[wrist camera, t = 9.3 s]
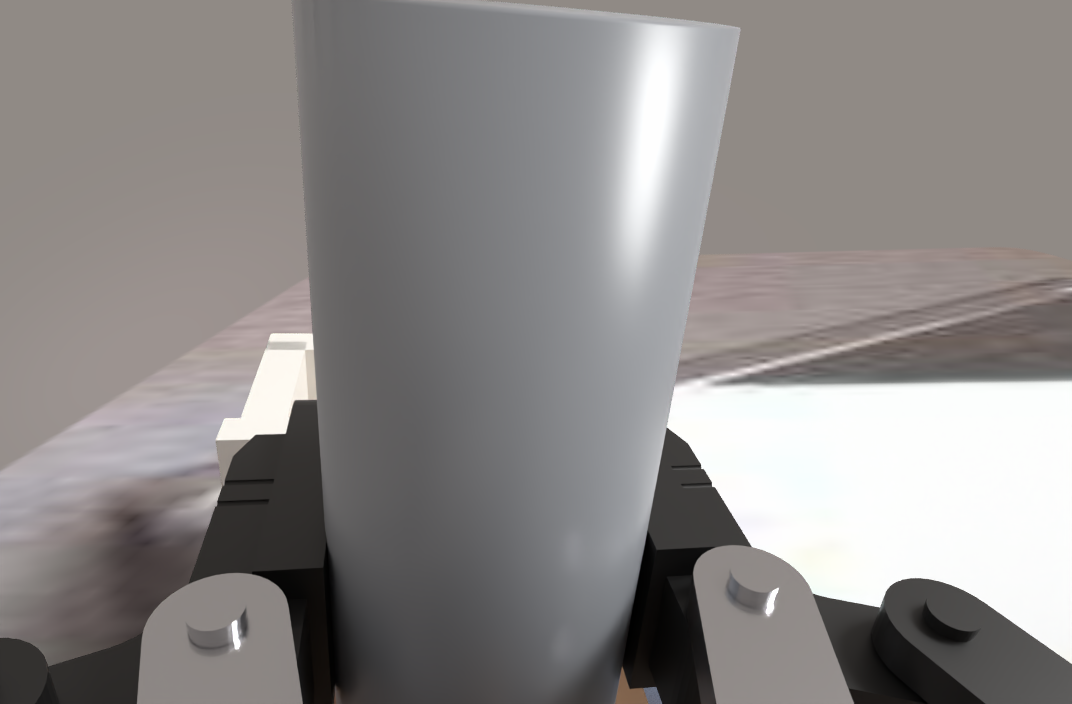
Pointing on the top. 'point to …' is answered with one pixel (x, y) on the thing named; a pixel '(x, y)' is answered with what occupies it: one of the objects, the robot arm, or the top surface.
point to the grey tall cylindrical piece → (496, 327)
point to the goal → (271, 394)
